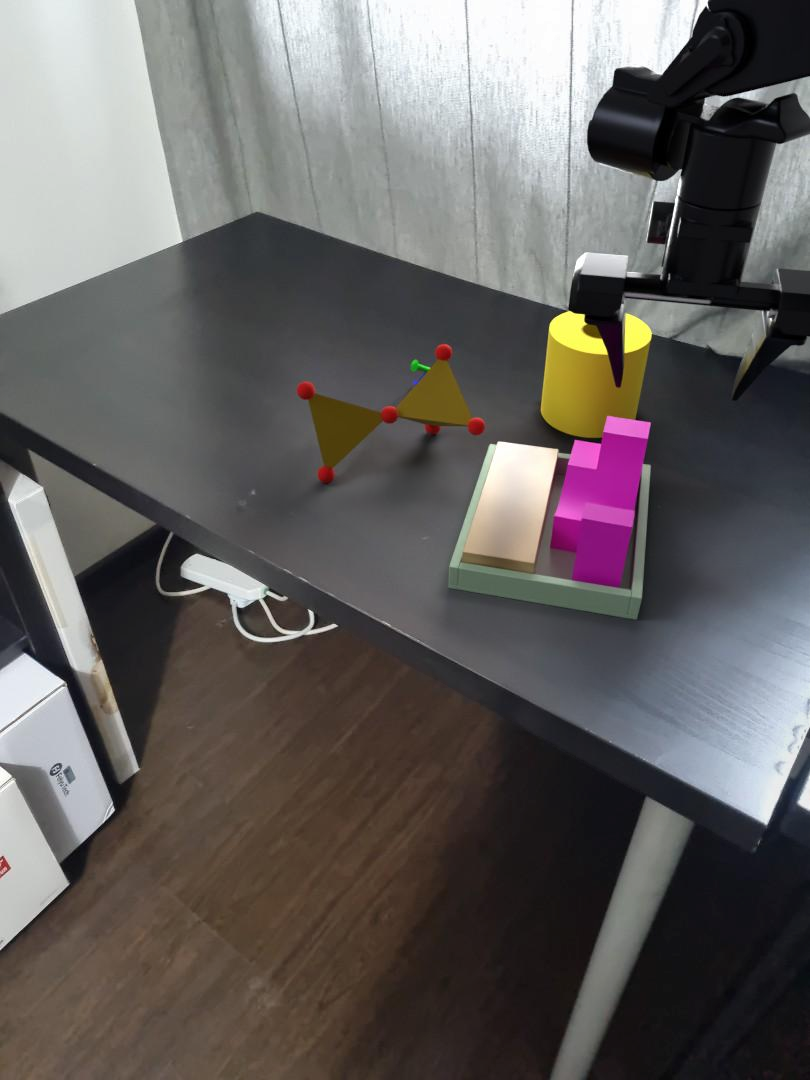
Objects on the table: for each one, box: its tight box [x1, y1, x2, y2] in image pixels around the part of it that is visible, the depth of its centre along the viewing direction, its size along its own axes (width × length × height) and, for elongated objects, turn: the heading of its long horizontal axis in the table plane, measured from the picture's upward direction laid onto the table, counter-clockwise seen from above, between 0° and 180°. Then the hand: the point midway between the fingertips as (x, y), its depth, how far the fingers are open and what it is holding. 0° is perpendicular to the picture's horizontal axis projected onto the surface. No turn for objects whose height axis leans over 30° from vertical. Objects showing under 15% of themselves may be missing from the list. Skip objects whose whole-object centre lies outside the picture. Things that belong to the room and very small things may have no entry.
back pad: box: [462, 441, 560, 574], centre depth 73 cm, size 6×16×3 cm, turn 165°
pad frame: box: [447, 443, 652, 621], centre depth 72 cm, size 15×18×2 cm
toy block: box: [550, 416, 652, 588], centre depth 70 cm, size 15×6×8 cm, turn 162°
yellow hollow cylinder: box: [540, 310, 653, 439], centre depth 85 cm, size 10×10×9 cm
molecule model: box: [296, 343, 486, 484], centre depth 82 cm, size 16×18×12 cm
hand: (675, 391), depth 68 cm, fingers open, 9 cm apart
